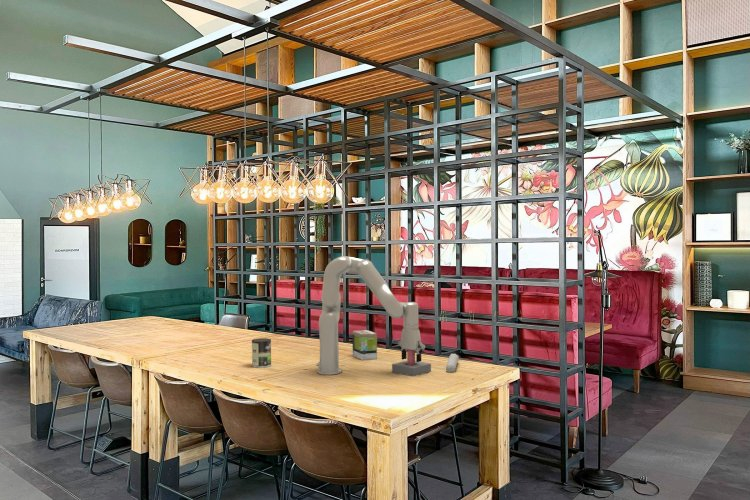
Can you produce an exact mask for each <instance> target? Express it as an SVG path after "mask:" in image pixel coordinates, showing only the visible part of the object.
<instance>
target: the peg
mask: <svg viewBox="0 0 750 500" xmlns="http://www.w3.org/2000/svg"><path fill="white" fill-rule="evenodd" d="M406 352H407V358H406V359H407V360H406V361H407V365H415V361H416V351H415V350H408V349H406Z"/></svg>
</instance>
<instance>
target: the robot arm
mask: <svg viewBox="0 0 750 500" xmlns="http://www.w3.org/2000/svg"><path fill="white" fill-rule="evenodd" d="M343 274H352V275H357V276H358V275H359V276H360V278H361V279H362V280H363V282H364V283H365V284H366V286H367V287H368V288H369V290H370V291H371V293H373V296H374V297H375V298H376V299H377V300H378V302H379V303H380V304H381V307H383V308H384V309H385V311H386V312H387V314H388V315H389V316H390V317H391V318H393V319H400V318H401V317H403V323H402V327H403V328H402V330H401V335H400V336H401V337H400V341H397V345H398V348H399V349H400V353H401V361H403V360H406V359H407V349H408V350H415V361H416V362H422V355H423V353H424V351H425V348H426V345H425V344H424V343H422V338H421V331H420V329H419V304H418V303H417V302H415V301H410V302H409V301H408V302H401V301H398V300H397V298H396V297H395V295H394V294H393V292H392V291H391V289H390V287H389V285H388V283H387V282H386V281H385V279H384V278H383V276H382V275H381V274H380V273H379V271H378V270H377V268H376V267H375V265H374V264H373V262H372V261H371V260H368V259H363V258H356V257H352V256H349V255H348V256H346V255H340V256H338V257H336V258H334V259H333V260H331V261H330V262H329V263H328V264H327V265H326V267H325V270H324V273H323V280H322V281H323V282H322V289H321V290H322V293H321V298H320V300H321V304H322V305H321V306H322V307H321V314H320V315H319V319H318V332H319V333H318V334H319V361H318V363H316V367H318V369H317V370H316V373H317V374H319V375H323V376H324V375H325V376H329V375H330V376H331V375H332V376H333V375H338V374H341V373H343V370H342V368H340V365H339V364H340V363H339V360H340V359H339V358H340V357H339V355H340V353H339V350H340V349H339V321H340V317H341V302H342V301H341V300H342V295H341V292H340V286H341V276H342V275H343Z"/></svg>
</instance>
